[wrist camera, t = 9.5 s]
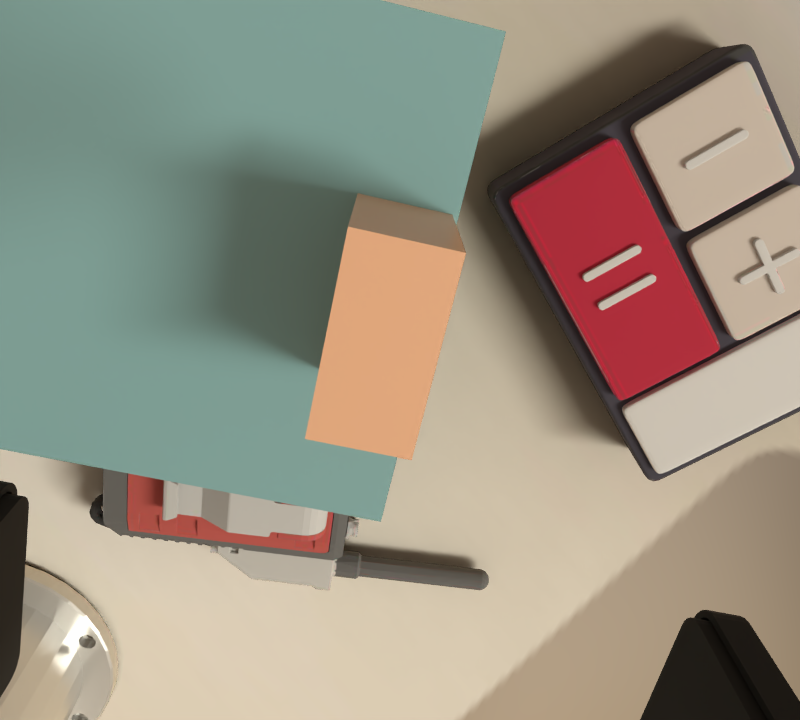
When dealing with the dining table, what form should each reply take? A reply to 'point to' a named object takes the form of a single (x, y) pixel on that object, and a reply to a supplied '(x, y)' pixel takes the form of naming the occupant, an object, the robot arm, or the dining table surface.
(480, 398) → the dining table surface
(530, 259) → the calculator
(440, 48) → the lid
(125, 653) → the dining table surface
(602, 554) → the dining table surface
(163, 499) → the walkie-talkie
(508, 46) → the dining table surface
